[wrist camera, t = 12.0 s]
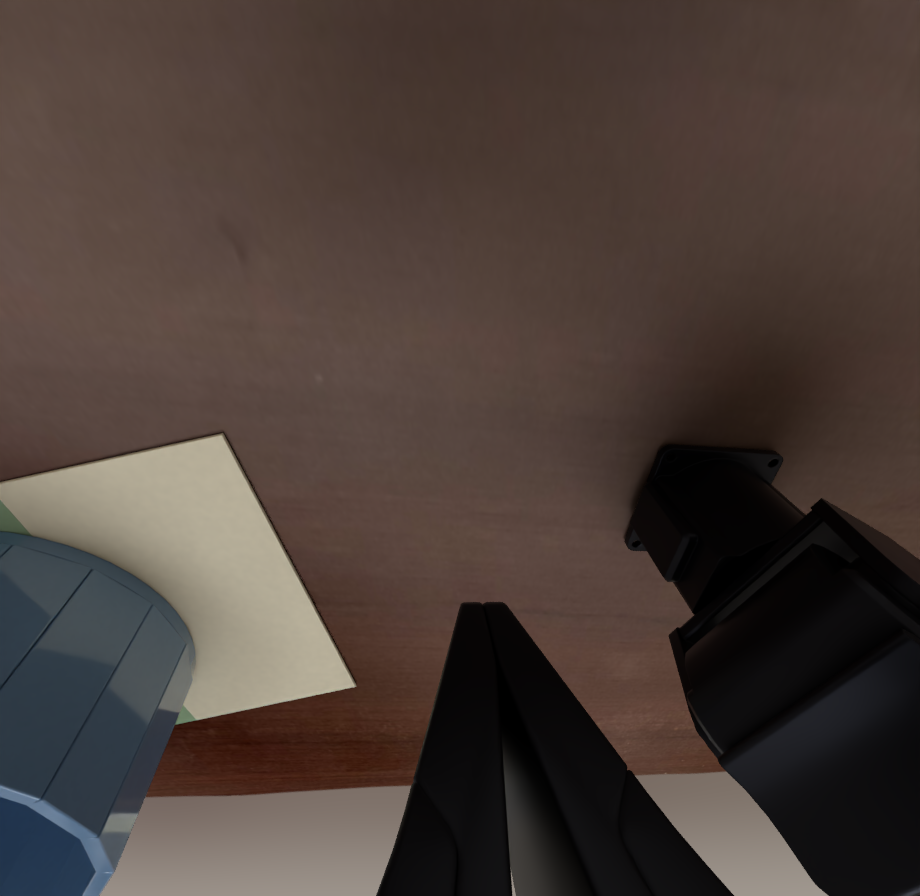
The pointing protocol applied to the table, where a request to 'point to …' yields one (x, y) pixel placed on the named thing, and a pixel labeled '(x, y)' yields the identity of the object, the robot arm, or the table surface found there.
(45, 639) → the blue bowl
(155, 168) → the table surface
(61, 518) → the placemat
